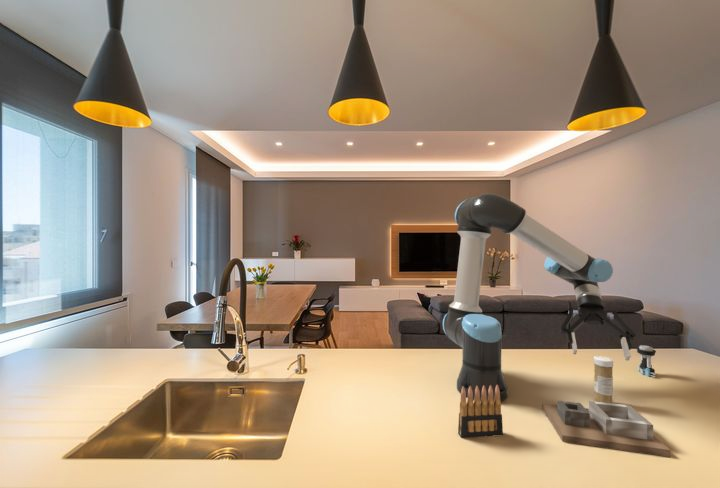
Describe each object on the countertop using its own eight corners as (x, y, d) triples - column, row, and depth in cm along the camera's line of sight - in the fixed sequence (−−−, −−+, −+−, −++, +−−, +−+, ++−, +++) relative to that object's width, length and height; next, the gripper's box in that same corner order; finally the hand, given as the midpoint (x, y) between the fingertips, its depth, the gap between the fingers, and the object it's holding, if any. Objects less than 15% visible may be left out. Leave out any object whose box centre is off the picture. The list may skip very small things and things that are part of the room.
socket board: (562, 441, 75) (562, 420, 75) (542, 408, 90) (541, 390, 90) (670, 456, 70) (669, 434, 70) (628, 418, 85) (628, 400, 85)
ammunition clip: (499, 431, 79) (498, 383, 79) (503, 435, 77) (503, 386, 78) (457, 433, 78) (458, 384, 78) (461, 438, 76) (461, 388, 76)
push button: (663, 379, 111) (662, 350, 111) (646, 378, 112) (646, 349, 112) (648, 371, 118) (648, 344, 118) (632, 370, 119) (632, 344, 119)
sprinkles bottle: (595, 398, 97) (594, 354, 97) (614, 403, 94) (613, 357, 94) (592, 403, 93) (592, 358, 94) (612, 409, 90) (612, 361, 90)
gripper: (630, 309, 111) (648, 366, 97) (547, 303, 121) (553, 355, 107) (635, 296, 106) (656, 355, 92) (549, 291, 116) (556, 344, 102)
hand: (601, 355), depth 100 cm, fingers open, 13 cm apart
